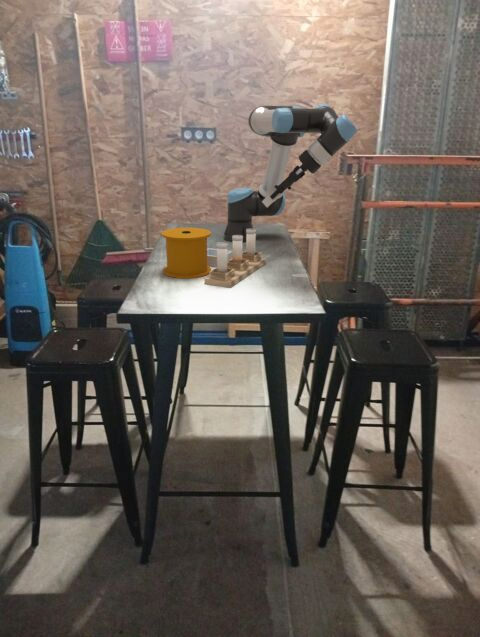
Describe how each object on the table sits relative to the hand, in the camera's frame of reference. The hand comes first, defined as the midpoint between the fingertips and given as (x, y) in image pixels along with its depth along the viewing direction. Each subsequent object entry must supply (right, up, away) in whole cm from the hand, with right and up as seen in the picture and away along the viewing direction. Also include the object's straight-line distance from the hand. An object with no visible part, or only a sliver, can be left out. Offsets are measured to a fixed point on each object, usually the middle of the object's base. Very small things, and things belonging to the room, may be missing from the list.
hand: (268, 201), depth 168 cm
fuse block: (-11, -24, +13) cm, 29 cm away
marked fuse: (-11, -22, +12) cm, 27 cm away
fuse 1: (-16, -26, +1) cm, 31 cm away
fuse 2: (-6, -17, +23) cm, 29 cm away
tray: (-20, -18, +26) cm, 37 cm away
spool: (-30, -23, +14) cm, 40 cm away
